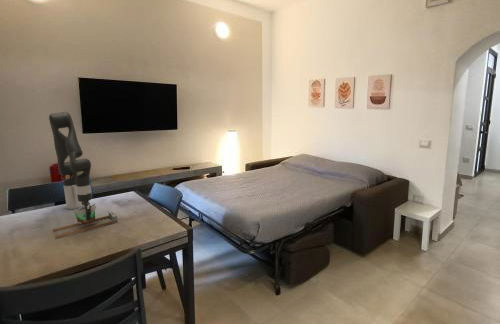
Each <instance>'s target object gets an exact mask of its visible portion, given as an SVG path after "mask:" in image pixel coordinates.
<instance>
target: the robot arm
mask: <svg viewBox="0 0 500 324" xmlns="http://www.w3.org/2000/svg"><path fill="white" fill-rule="evenodd" d="M48 121H49V124H50V129H51V133H52V136H53V142H54V144H53V145H54V149H55V153H56V158H57V168H58V169H57V170H58V173H59V175H61V176H70V177H68V178H66V179H64V180H63V181H62V184H63V185H62V186H63V190H64V198H65V205H66V209H67V210H74V209H81V208H84V209H86V219H87V221H89V220H91V216H90V214H91V206H92V205H91V203H90V201H91V200H92V199H93V193H92V187H91V184H90V183H91V182H90V175H91V174H90V173H91V169H92V163H91V160H89V159H88V158H80V157H82V156H83V151H82V147H81V145H80V143H79V140H78V135H77V132H76V129H75V125H74V122H73V119H72V115H71V114H70V113H69V112H68V111H62V112H54V113H50V114H49V117H48ZM65 128H68V133H67V135H65V134H64V133H62V132H61V131H60V130H59V129H65ZM67 158H69V161H66V160H67ZM78 158H80V159H78ZM81 172H82V173H81ZM78 173H80V174H79V175H78ZM88 211H89V213H87V212H88Z"/></svg>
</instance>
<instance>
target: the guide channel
mask: <svg viewBox="0 0 500 324" xmlns="http://www.w3.org/2000/svg"><path fill="white" fill-rule="evenodd" d="M107 218H108V219H110V221H106V222H101V223H98V224H94V225H93V224H92V225H90V226H87V227H82V228H78V229H75V230H70V231H67V232H62V233H59V234H56V235H54V237H55V239H60V238H62V237H63V238H64V237H67V236H71V235H75V234H78V233H83V232H86V231H89V230H93V229H97V228H101V226H102V227H105V226H109V225H112V223H113V224H116V223H115V222H117V223H118V217H117V215H116V214H115V213H114V211H108V215H105V216H101V217H97V218H96V217H95V221H94V222H93V223H95V222H99V220H100V221H103V219H104V220H108V219H107ZM80 226H81V225H79V224H78V222H76V223H72V224H68V225H63V226H60V227H55V228H53V229H52V232H53V233H56V232H60V231H63V230H68V229H72V228H75V227H76V228H77V227H80Z"/></svg>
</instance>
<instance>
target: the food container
mask: <svg viewBox="0 0 500 324" xmlns="http://www.w3.org/2000/svg"><path fill="white" fill-rule="evenodd" d="M90 206H91V214H90V216H91V220H89V221H87V219H86V209H84V208H82V207H80V208H76V209H73V213H74V214H75V217H76V220H77V222H76V223H78V224H79V225H80V226H84V225H89V224H93V223H95V222H94V221H95V219H96V208H97V205H96V204H95V203H93V204H92V205H90ZM87 213H89V211H88V212H87Z"/></svg>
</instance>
